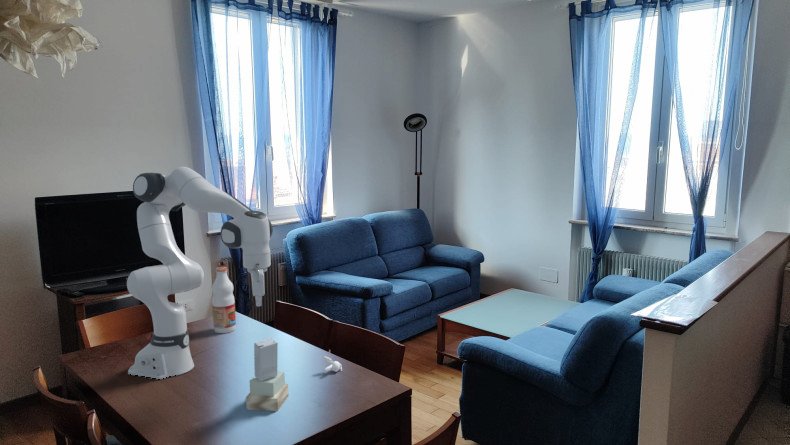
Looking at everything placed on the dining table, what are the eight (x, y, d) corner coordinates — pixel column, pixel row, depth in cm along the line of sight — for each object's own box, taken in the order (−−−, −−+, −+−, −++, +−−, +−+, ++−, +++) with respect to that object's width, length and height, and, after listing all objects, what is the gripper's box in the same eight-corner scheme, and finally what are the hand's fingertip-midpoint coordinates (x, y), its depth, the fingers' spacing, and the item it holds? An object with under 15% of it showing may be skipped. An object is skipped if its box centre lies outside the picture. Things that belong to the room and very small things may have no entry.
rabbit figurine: (345, 373, 192) (326, 368, 188) (339, 379, 194) (320, 374, 190) (343, 359, 197) (325, 353, 193) (337, 365, 198) (319, 359, 194)
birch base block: (246, 410, 167) (246, 396, 166) (259, 395, 177) (258, 382, 176) (278, 412, 166) (277, 398, 165) (288, 397, 176) (288, 384, 175)
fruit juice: (214, 327, 241) (210, 266, 236) (236, 325, 243) (233, 264, 239) (213, 334, 232) (209, 271, 227) (235, 332, 234) (232, 269, 230)
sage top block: (250, 394, 168) (249, 380, 168) (262, 382, 176) (261, 369, 175) (273, 396, 166) (273, 383, 166) (284, 385, 174) (284, 372, 173)
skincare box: (271, 370, 173) (271, 336, 170) (278, 376, 170) (278, 342, 166) (253, 376, 169) (253, 341, 166) (260, 383, 166) (260, 347, 163)
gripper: (268, 268, 168) (269, 310, 171) (265, 253, 188) (266, 291, 190) (247, 269, 166) (249, 312, 169) (246, 254, 186) (248, 292, 188)
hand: (258, 301), depth 180 cm, fingers open, 8 cm apart
